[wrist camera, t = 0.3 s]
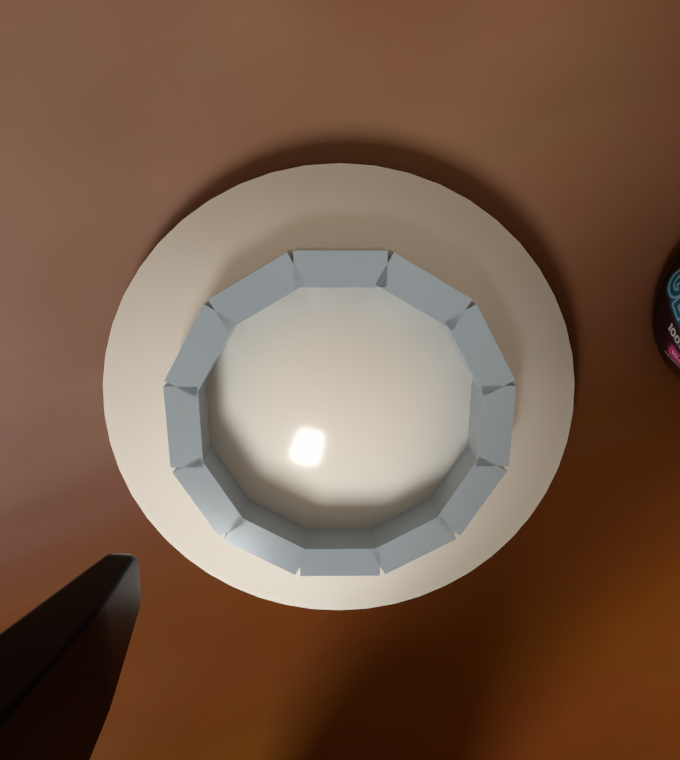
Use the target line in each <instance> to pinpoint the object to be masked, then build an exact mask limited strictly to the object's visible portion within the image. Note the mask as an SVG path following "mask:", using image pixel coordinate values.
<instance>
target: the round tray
mask: <svg viewBox="0 0 680 760" xmlns="http://www.w3.org/2000/svg"><path fill="white" fill-rule="evenodd" d="M574 386H575V382H574V369H573V357H572V351H571V346H570V342H569V337H568V333H567V329H566V324H565V322H564V319H563V316H562V314H561V311H560V308H559V306H558V303H557V301H556V298H555V296H554V294H553V292H552V290H551V288H550V287H549V285H548V283H547V281H546V279H545V278H544V276H543V274H542V272H541V270H540V269H539V267H538V266H537V265H536V263H535V262H534V261H533V259H532V258H531V257H530V255H529V254H528V253H527V251H526V250H525V249H524V247H523V246H522V245H521V244H520V242H519V241H518V240H517V239H516V238H515V237H514V236H512V235H511V234H510V233H509V232H508V231H507V230H506V229H505V228H504V227H503V226H502V225H501V224H500V223H499V222H498V221H497V220H496V219H495V218H493V217H492V216H491V215H489V214H488V213H487V212H485V211H484V210H482V209H481V208H480V207H478V206H477V205H476V204H474V203H473V202H472V201H470V200H468V199H466V198H465V197H463V196H461V195H459V194H457V193H455V192H453V191H452V190H450V189H448V188H446V187H444V186H442V185H440V184H438V183H435V182H432V181H430V180H427V179H424V178H421V177H419V176H416V175H413V174H411V173H407V172H403V171H398V170H393V169H389V168H384V167H379V166H375V165H361V164H347V163H333V164H318V165H305V166H300V167H295V168H290V169H286V170H281V171H276V172H272V173H269V174H266V175H263V176H260V177H258V178H255V179H252V180H249V181H247V182H244V183H241V184H239V185H237V186H235V187H233V188H231V189H229V190H227V191H226V192H224V193H222V194H220V195H218V196H216V197H214V198H212V199H210V200H209V201H207V202H206V203H205V204H203V205H202V206H201V207H199V208H198V209H196V210H195V211H194V212H192V213H191V214H190V215H188V216H187V217H185V218H184V219H183V220H182V221H181V222H179V223H178V224H177V225H176V226H175V227H174V228H173V229H172V230H171V231H170V232H169V233H168V234H167V235H166V236H165V237H164V238H163V239H162V240H161V241H160V242H159V243H158V244H157V246H156V247H155V248H154V249H153V251H152V252H151V253H150V255H149V256H148V257H147V259H146V260H145V261H144V262H143V264H142V265H141V266H140V268H139V269H138V271H137V273H136V275H135V276H134V278H133V280H132V282H131V283H130V285H129V287H128V289H127V291H126V292H125V294H124V296H123V298H122V301H121V304H120V306H119V309H118V311H117V314H116V316H115V319H114V322H113V324H112V328H111V332H110V337H109V341H108V345H107V350H106V354H105V365H104V377H103V396H104V414H105V419H106V424H107V429H108V434H109V440H110V444H111V447H112V450H113V452H114V455H115V458H116V461H117V464H118V467H119V470H120V472H121V474H122V476H123V478H124V480H125V482H126V484H127V486H128V488H129V490H130V492H131V494H132V496H133V497H134V499H135V500H136V502H137V503H138V505H139V506H140V508H141V509H142V511H143V512H144V514H145V515H146V517H147V518H148V519H149V521H150V522H151V523H152V524H153V525H154V526H155V527H156V529H157V530H158V531H159V532H160V533H161V534H162V536H163V537H164V538H165V539H166V540H167V541H168V542H169V543H170V544H172V545H173V546H174V547H175V548H176V549H177V550H178V551H179V552H180V553H182V554H183V555H184V556H185V557H186V558H187V559H189V560H190V561H191V562H193V563H194V564H196V565H197V566H199V567H200V568H201V569H203V570H204V571H206V572H207V573H208V574H210V575H212V576H214V577H216V578H218V579H219V580H221V581H223V582H225V583H227V584H229V585H230V586H232V587H234V588H237V589H239V590H242V591H244V592H247V593H249V594H252V595H254V596H257V597H259V598H263V599H267V600H270V601H274V602H278V603H281V604H285V605H291V606H297V607H303V608H309V609H324V610H352V609H367V608H373V607H379V606H385V605H390V604H395V603H399V602H402V601H406V600H409V599H412V598H416V597H419V596H422V595H424V594H427V593H429V592H432V591H434V590H436V589H439V588H441V587H444V586H446V585H448V584H449V583H451V582H453V581H455V580H457V579H458V578H460V577H462V576H464V575H466V574H467V573H469V572H471V571H472V570H473V569H475V568H476V567H478V566H479V565H480V564H482V563H483V562H485V561H486V560H487V559H489V558H490V557H491V556H493V555H494V554H495V553H496V552H497V551H498V550H499V549H500V548H501V547H502V546H504V545H505V544H506V543H507V542H508V541H509V540H510V539H511V538H512V537H513V536H514V535H515V534H516V533H517V531H518V530H519V529H520V528H521V527H522V526H523V524H524V523H525V522H526V521H527V520H528V519H529V517H530V516H531V515H532V513H533V512H534V510H535V509H536V507H537V506H538V504H539V503H540V501H541V500H542V498H543V497H544V495H545V494H546V492H547V490H548V488H549V486H550V484H551V482H552V479H553V477H554V475H555V473H556V471H557V469H558V467H559V464H560V461H561V458H562V455H563V452H564V449H565V446H566V443H567V440H568V435H569V430H570V425H571V420H572V415H573V403H574Z"/></svg>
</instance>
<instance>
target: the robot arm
mask: <svg viewBox="0 0 680 760" xmlns="http://www.w3.org/2000/svg"><path fill="white" fill-rule="evenodd" d="M140 599H141V592H140V579H139V566H138V560H137V557H136V556H134V555H133V554H119V553H111V554H108V555H106V556H105V557H103V558H102V559H101V560H99V561H98V562H97V563H95V564H94V565H93V566H91V567H90V568H89V569H87V570H86V571H85V572H83V573H82V574H80V575H79V576H78V577H76V578H75V579H74V580H72V581H71V582H70V583H68V584H67V585H66V586H64V587H63V588H62V589H60V590H59V591H58V592H56V593H55V594H53V595H52V596H51V597H49V598H48V599H47V600H45V601H44V602H43V603H41V604H40V605H39V606H37V607H36V608H35V609H33V610H32V611H31V612H29V613H28V614H26V615H25V616H24V617H22V618H21V619H20V620H18V621H17V622H16V623H14V624H13V625H12V626H10V627H9V628H8V629H6V630H5V631H4V632H2V633H1V634H0V760H89V759H90V757H91V754H92V752H93V749H94V747H95V745H96V742H97V740H98V737H99V735H100V732H101V730H102V728H103V725H104V722H105V720H106V717H107V715H108V712H109V709H110V706H111V703H112V700H113V697H114V694H115V690H116V687H117V683H118V680H119V677H120V673H121V670H122V666H123V663H124V659H125V656H126V652H127V649H128V646H129V642H130V639H131V635H132V632H133V628H134V625H135V621H136V618H137V615H138V611H139V606H140Z"/></svg>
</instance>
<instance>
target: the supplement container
mask: <svg viewBox="0 0 680 760" xmlns="http://www.w3.org/2000/svg"><path fill="white" fill-rule="evenodd" d="M652 331H653V336H654V341H655V344H656V346H657V349H658V351H659V353H660V355H661V357H662V359H663V360H664V362H665V363H666V365H667V366H668V367H669V369H670V370H671V371H672V372H673V373H674V374H675V375H676V376H678V377H679V378H680V253H679V254H678V255H677V257H676V258H675V259H674V260H673V262H672V263H671V264H670V266H669V267H668V269H667V270H666V272H665V273H664V275H663V277H662V279H661V281H660V283H659V286H658V288H657V291H656V294H655V298H654V302H653V307H652Z"/></svg>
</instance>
